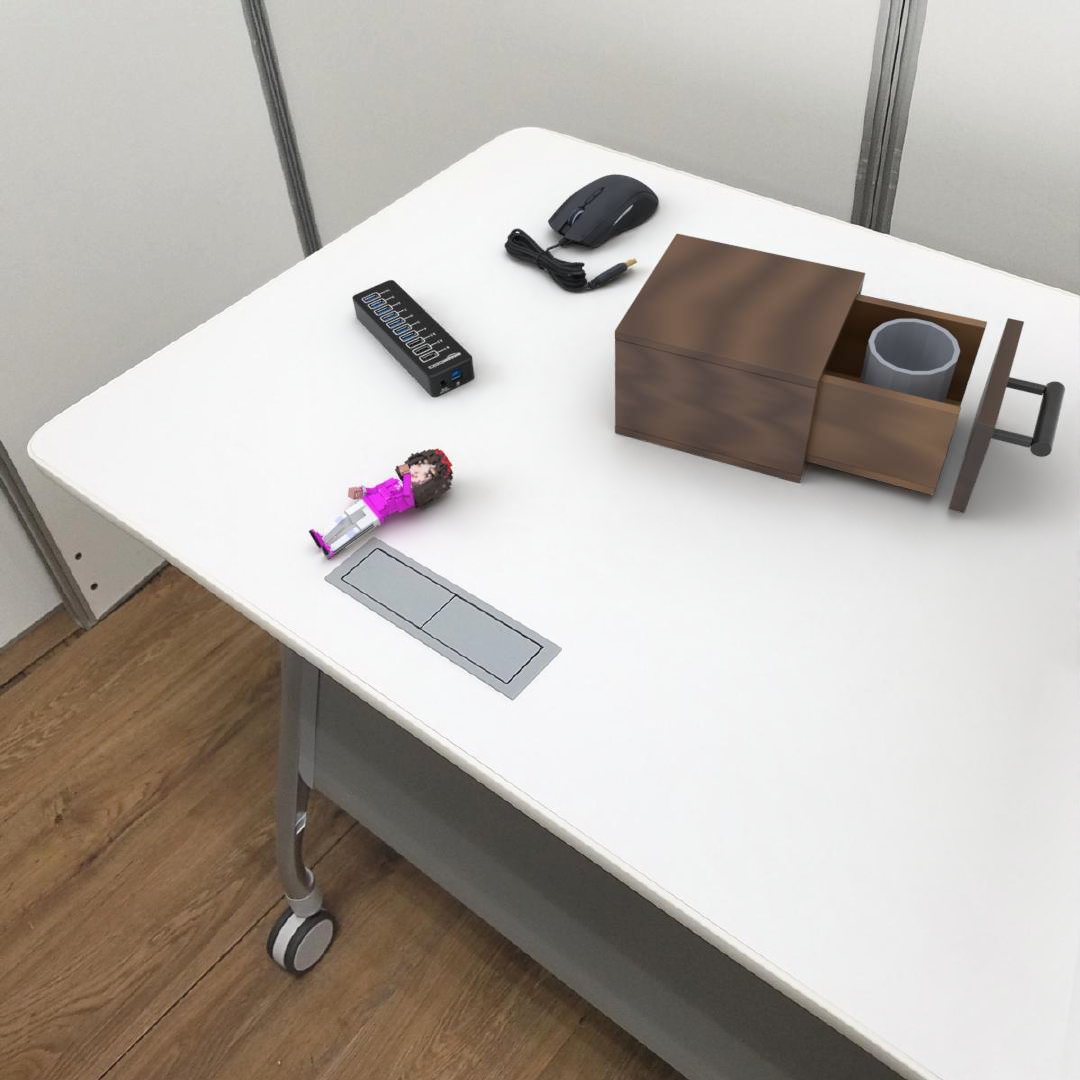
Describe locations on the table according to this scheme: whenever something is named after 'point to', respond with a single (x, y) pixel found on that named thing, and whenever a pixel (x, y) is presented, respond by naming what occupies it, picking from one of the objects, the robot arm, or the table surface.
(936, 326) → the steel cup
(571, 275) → the computer mouse
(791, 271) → the cabinet
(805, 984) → the table surface
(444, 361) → the multiport hub
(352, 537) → the character figurine
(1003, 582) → the table surface
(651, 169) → the table surface
